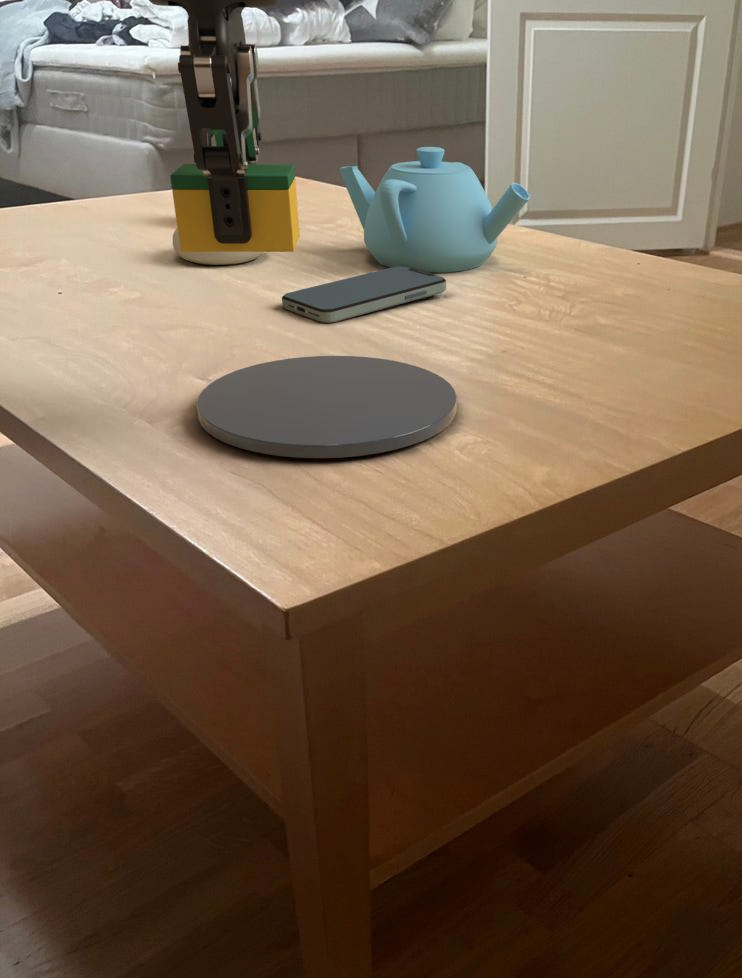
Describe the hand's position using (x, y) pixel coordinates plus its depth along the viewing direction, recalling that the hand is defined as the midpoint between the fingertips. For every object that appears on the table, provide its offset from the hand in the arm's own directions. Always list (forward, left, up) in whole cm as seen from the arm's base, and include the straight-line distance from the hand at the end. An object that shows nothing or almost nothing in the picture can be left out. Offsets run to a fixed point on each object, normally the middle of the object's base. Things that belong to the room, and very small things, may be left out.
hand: (239, 232), depth 64 cm
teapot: (+14, +46, -12) cm, 50 cm away
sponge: (0, 0, -1) cm, 1 cm away
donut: (-9, +47, -12) cm, 49 cm away
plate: (+5, 0, -12) cm, 13 cm away
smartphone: (+7, +29, -12) cm, 32 cm away
